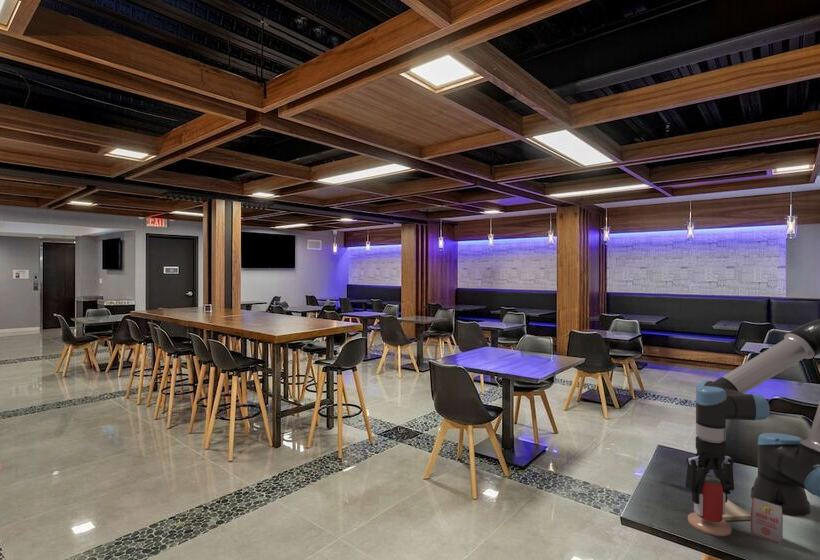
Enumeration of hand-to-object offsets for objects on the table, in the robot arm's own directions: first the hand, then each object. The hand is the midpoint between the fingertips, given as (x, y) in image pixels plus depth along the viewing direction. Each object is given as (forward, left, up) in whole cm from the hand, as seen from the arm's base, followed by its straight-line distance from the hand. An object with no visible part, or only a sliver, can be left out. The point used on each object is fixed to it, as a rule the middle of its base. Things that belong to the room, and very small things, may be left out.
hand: (709, 512), depth 132 cm
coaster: (0, 0, -4) cm, 4 cm away
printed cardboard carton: (-13, +6, -4) cm, 15 cm away
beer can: (0, 0, -2) cm, 2 cm away
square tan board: (-11, -7, -4) cm, 14 cm away
